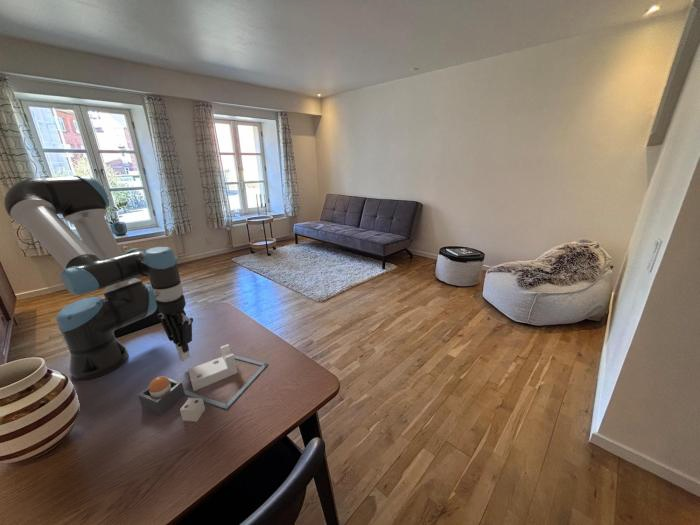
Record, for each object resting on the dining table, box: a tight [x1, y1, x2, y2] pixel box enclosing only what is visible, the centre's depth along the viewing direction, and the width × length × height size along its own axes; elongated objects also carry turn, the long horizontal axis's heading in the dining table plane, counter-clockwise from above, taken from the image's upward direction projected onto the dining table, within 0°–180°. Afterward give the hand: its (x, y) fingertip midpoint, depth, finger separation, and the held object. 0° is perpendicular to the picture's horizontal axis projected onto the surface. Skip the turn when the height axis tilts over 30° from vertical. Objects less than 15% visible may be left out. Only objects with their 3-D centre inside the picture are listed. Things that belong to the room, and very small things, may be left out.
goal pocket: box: [184, 354, 268, 411], centre depth 90 cm, size 18×19×1 cm
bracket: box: [187, 343, 238, 391], centre depth 91 cm, size 13×7×8 cm, turn 126°
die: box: [179, 397, 206, 422], centre depth 77 cm, size 4×4×4 cm
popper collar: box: [137, 376, 186, 417], centre depth 81 cm, size 8×8×5 cm
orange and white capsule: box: [148, 375, 171, 399], centre depth 80 cm, size 5×5×8 cm
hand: (185, 358), depth 95 cm, fingers closed
